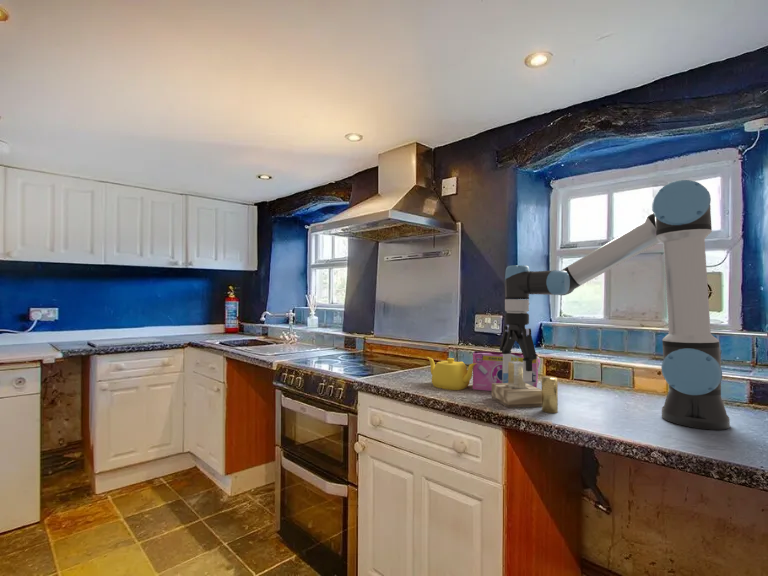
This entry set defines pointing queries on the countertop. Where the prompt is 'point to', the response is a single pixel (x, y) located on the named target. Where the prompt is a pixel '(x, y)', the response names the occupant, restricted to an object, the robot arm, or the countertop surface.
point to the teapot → (450, 374)
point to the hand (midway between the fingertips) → (516, 377)
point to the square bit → (516, 375)
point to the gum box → (496, 369)
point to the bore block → (517, 395)
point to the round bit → (550, 394)
